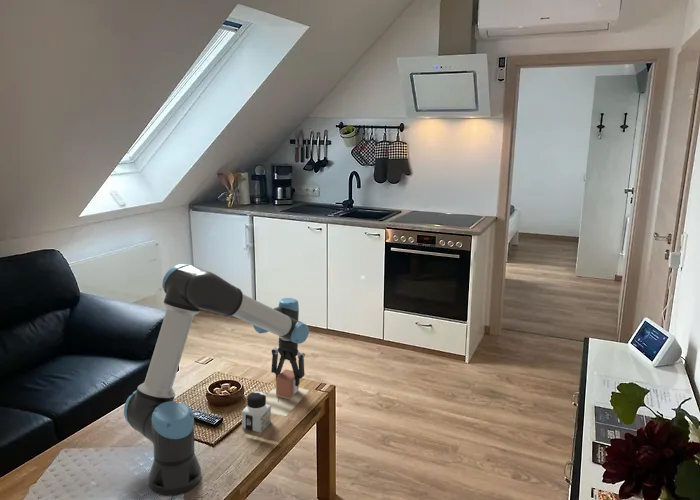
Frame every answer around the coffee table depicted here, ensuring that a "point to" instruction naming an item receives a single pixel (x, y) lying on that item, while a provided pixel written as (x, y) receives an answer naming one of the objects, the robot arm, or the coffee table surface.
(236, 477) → the coffee table surface
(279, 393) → the block
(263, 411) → the container
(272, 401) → the board
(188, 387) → the coffee table surface
